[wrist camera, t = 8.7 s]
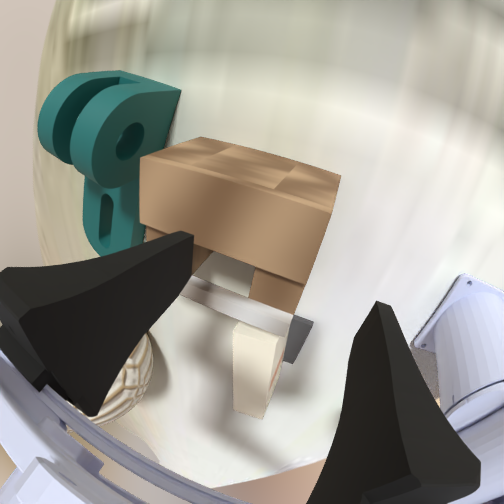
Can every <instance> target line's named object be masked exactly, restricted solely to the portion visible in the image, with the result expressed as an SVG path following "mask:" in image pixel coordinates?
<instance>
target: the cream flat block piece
mask: <svg viewBox="0 0 504 504" xmlns="http://www.w3.org/2000/svg"><path fill="white" fill-rule="evenodd" d="M289 327H290V326H289ZM288 332H289V328H288V331H287V333H286V335H285V338H284V337H282V336H279V335H276V334H274V333H271V332H268V331H266V330H263V329H261V328H258V327H255V326H253V325H250V324H248V323H245V322H243V321H240V320H239V322H238V324H237V325H236V327H235V329H234V330H233V410H235V411H238V412H240V413H243V414H246V415H249V416H253V417H256V418H259V419H263V417H264V414H265V412H266V409H267V407H268V404H269V402H270V399H271V397H272V394H273V392H274V389H275V386H276V384H277V381H278V379H279V375H280V370H281V366H282V361H283V356H284V352H285V347H286V342H287V337H288Z"/></svg>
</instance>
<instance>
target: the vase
mask: <svg viewBox="0 0 504 504" xmlns="http://www.w3.org/2000/svg"><path fill="white" fill-rule="evenodd" d="M152 371H153V352H152V347H151V343H150V340H149V337H148V334H147V332H146V334H145V335H144V336H143V337H142V339H141V340H140V341H139V343H138V344H137V346H136V347H135V349H134V350H133V352H132V353H131V355H130V356H129V358H128V359H127V361H126V363H125V364H124V366H123V368H122V369H121V371H120V372H119V374H118V376H117V378H116V380H115V381H114V383H113V385H112V387H111V389H110V390H109V392H108V394H107V396H106V398H105V400H104V402H103V405H102V407H101V409H100V411H99V413H98V415H97V416H95V417H88V416H87V415H85V414H84V413H83V412H81V411H80V410H79V409H78V408H76V407H75V406H73V405H72V404H70V403H69V402H68V401H67V400H66V401H67V402H68V403H69V404H70V405H71V406H73V407H74V408H75V409H76V410H78V411H79V412H80V413H81V414H83V415H84V416H85V417H87V418H88V419H89V420H90V421H92V422H93V423H94V424H96V425H97V426H102V425H105V424H108V423H110V422H113V421H115V420H116V419H118V418H120V417H121V416H123V415H124V414H126V413H127V412H129V411H130V410H131V409H132V408H133V407H135V406H136V405H137V403H138V402H139V401H140V400H141V399H142V397H143V395H144V394H145V392H146V390H147V388H148V385H149V383H150V380H151V376H152ZM66 426H67V425H66ZM71 432H74V431H73V430H72V429H71V428H70V427H68V426H67V433H71Z"/></svg>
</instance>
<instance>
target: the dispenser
mask: <svg viewBox="0 0 504 504" xmlns="http://www.w3.org/2000/svg"><path fill="white" fill-rule="evenodd" d="M340 179H341V175H338V174H335V173H332V172H329V171H326V170H323V169H320V168H317V167H314V166H311V165H307V164H304V163H301V162H298V161H294V160H291V159H288V158H284V157H281V156H277V155H274V154H270V153H266V152H263V151H259V150H255V149H251V148H247V147H243V146H239V145H235V144H231V143H227V142H223V141H218V140H214V139H209V138H204V137H199V138H195V139H192V140H189V141H186V142H183V143H180V144H177V145H174V146H171V147H168V148H165V149H162V150H159V151H157V152H154V153H151V154H148V155H146V156H143V157H140V192H139V196H140V223H142V224H145V225H146V240H147V242H148V241H151V240H153V239H156V238H159V237H162V236H165V235H167V234H170V233H173V232H177V231H184V232H187V233H190V234H192V235H194V246H193V261H192V274H193V273H194V272H195V271H196V270H197V269H198V268H199V266H200V265H201V264H202V263H203V262H204V261H205V260H206V259H207V258H208V257H209V256H210V254H211V253H212V252H213V251H216V252H218V253H221V254H224V255H226V256H229V257H232V258H234V259H237V260H240V261H242V262H245V263H248V264H250V265H253V266H256V267H255V272H254V276H253V280H252V284H251V288H250V293H249V297H248V298H247V297H245V296H242V295H240V294H237V293H235V292H232V291H230V290H227V289H225V288H222V287H220V286H217V285H215V284H212V283H210V282H207V281H205V280H202V279H200V278H198V277H195V276H193V275H192V276H191V278H190V279H189V281H188V282H187V284H186V286H185V287H184V289H183V290H182V291H181V293H180V295H182V296H184V297H186V298H189V299H191V300H193V301H195V302H198V303H200V304H202V305H205V306H207V307H209V308H212V309H214V310H216V311H219V312H221V313H223V314H226V315H228V316H231V317H233V318H236V319H238V320H240V321H243V322H245V323H248V324H250V325H253V326H255V327H258V328H261V329H263V330H266V331H268V332H271V333H274V334H276V335H279V336H282V337H284V338H285V335H286V333H287V331H288V328H289V326H290V323H291V320H292V318H293V315H294V313H295V310H296V308H297V305H298V303H299V300H300V298H301V295H302V293H303V290H304V287H305V285H306V283H307V280H308V278H309V275H310V273H311V270H312V267H313V265H314V262H315V259H316V257H317V254H318V251H319V248H320V246H321V243H322V240H323V237H324V234H325V232H326V229H327V226H328V223H329V220H330V217H331V214H332V211H333V207H334V203H335V199H336V195H337V191H338V187H339V183H340Z"/></svg>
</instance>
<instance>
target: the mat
mask: <svg viewBox="0 0 504 504" xmlns="http://www.w3.org/2000/svg"><path fill="white" fill-rule="evenodd" d="M313 323H314V322H313V321H310V320H307V319H304V318H301V317H299V316H296V315H293V318H292V320H291V323H290V327H289V332H288V337H287V342H286V347H285V352H284V356H283V361H286V362H288V363H291V364H293V363H294V361H295V359H296V357H297V355H298V354H299V352H300V350H301V348H302V346H303V344H304V342H305V340H306V338H307V336H308V334H309V332H310V330H311V328H312V326H313Z"/></svg>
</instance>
